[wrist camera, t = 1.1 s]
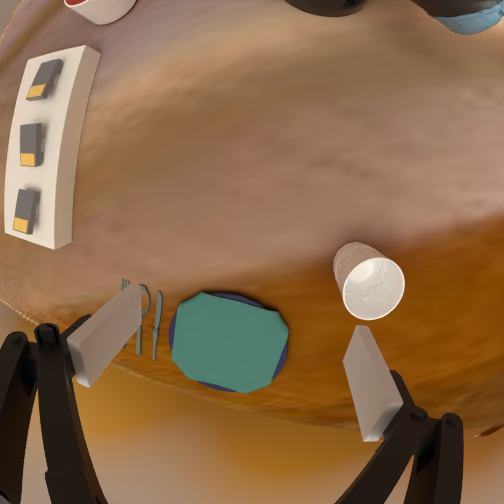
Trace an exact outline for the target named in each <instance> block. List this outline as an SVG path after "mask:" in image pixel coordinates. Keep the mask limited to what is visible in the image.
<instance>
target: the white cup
mask: <svg viewBox="0 0 504 504" xmlns="http://www.w3.org/2000/svg"><path fill="white" fill-rule="evenodd" d="M333 271H334V273H335V278H336V281H337V285H338V287H339V290H340V293H341V296H342V298H343V301H344V304H345V306H346V308H347V310H348V311H349V312H350V313H351V314H352V315H354V316H355V317H357V318H360V319H364V320H374V319H378V318H381V317H383V316H385V315H387V314H388V313H390V312H391V311H392V310H393V309H394V308H395V307H396V306H397V304H398V303H399V301H400V300H401V298H402V295H403V292H404V286H405V281H404V276H403V273H402V271H401V269H400V267H399V266H398V265H397V264H396V263H395V262H393V261H392V260H390V259H389V258H387V257H386V256H385V255H383V254H382V253H380V252H379V251H377V250H375V249H374V248H372V247H370V246H368V245H367V244H365V243H361V242H352V243H348V244H345V245H344V246H343V247H342V248H340V249H339V250H338V252H337V254H336V255H335V257H334V259H333Z"/></svg>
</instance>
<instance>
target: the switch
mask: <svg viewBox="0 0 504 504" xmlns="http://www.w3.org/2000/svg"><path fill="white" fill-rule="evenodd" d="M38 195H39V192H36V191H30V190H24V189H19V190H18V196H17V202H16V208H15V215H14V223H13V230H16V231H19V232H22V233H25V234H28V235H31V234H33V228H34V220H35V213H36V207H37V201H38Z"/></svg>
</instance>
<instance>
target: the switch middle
mask: <svg viewBox="0 0 504 504" xmlns="http://www.w3.org/2000/svg"><path fill="white" fill-rule="evenodd" d="M41 124H42V123H32V124H23V125H20V166H29V167H38V166H41Z"/></svg>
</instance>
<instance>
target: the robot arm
mask: <svg viewBox="0 0 504 504" xmlns="http://www.w3.org/2000/svg"><path fill="white" fill-rule="evenodd" d="M285 1H286V2H288V3H289V4H291V5H292V6H294V7H296V8H298V9H300V10H302V11H305V12H308V13H311V14H315V15H320V16H327V17H340V16H346V15H350V14H353V13H355V12H357V11H359V10H360V9H361V8H362V7H363V6H364V5H365V3H366V1H367V0H285ZM411 1H412V2H414V3H415V4H417V5H418V6H419V7H421V8H422V9H424V10H425V11H426V12H427V14H428V15H429V16H431V17H432V18H435V19H437V20H438V21H439V22H441V23H442V24H443V25H445V26H446V27H447V28H449V29H450V30H451V31H453V32H455V33H459V34H462V35H471V34H476V33H479V32H482V31H484V30H486V29H488V28H490V27H492V26H494V25H495V24H497V23H498V22H499V21H500V20H501V17H503V16H504V0H411ZM141 324H142V316H141V286H140V285H136V284H132V283H130V284H129V285H127V286H126V287H125V288H124V289H123V290H122V291H120V292H119V293H118V294H117V295H116V296H114V297H113V298H112V299H111V300H110V301H109V302H107V303H106V304H105V305H104V306H103V307H102V308H100V309H99V310H98V311H97V312H96V313H95V314H94V315H90V314H87V315H85V316H82V317H80V318H79V319H78V320H77V321H75V323H73V324H72V325H71V327H68V328H67V329H66V330H65V331H64V332H63V333H62V334H60V333H59V329H58V326H56V325H55V324H52V323H44V324H40V325H38V326H37V327H36V328H35V330H34V334H35V337H36V341H37V343H34V342H29V341H28V338H27V336H26V334H25V333H24V332H20V331H16V332H12V333H10V334H9V335H8V336H7V337H6V339H5V341H4V343H3V345H2V347H1V349H0V504H20V502H21V494H22V478H23V466H24V457H25V449H26V441H27V435H28V430H29V424H30V419H31V414H32V409H33V404H34V400H35V396H36V392H37V388H38V398H39V412H40V423H41V431H42V438H43V444H44V451H45V457H46V462H47V467H48V471H47V472H45V480H46V484H47V488H48V492H49V496H50V499H51V503H52V504H108V502H107V500H106V499H105V497H104V494H103V492H102V489H101V487H100V485H99V482H98V479H97V476H96V473H95V470H94V468H93V464H92V461H91V458H90V455H89V452H88V448H87V445H86V441H85V438H84V434H83V430H82V426H81V422H80V418H79V413H78V408H77V404H76V399H75V393H74V388H73V382H72V377H73V376H74V375H76V378H77V381H78V383H80V384H82V385H85V386H86V387H89V388H90V387H91V386H92V385H93V384H94V382H95V381H96V380H97V378H98V377H99V376H100V375H101V373H102V372H103V371H104V370H105V368H106V367H107V366H108V365H109V363H110V362H111V361H112V360H113V358H114V357H115V356H116V355H117V353H118V352H119V351H120V350H121V348H122V347H123V346H124V345H125V343H126V342H127V341H128V340H129V339H130V337H131V336H132V335H133V334H134V333H135V331H136V330H137V329H138V328H139V326H140V325H141ZM343 364H344V367H345V371H346V374H347V378H348V382H349V386H350V389H351V393H352V397H353V401H354V405H355V409H356V413H357V417H358V421H359V425H360V429H361V433H362V437H363V441H378V439H379V438H380V436H381V435H382V434H383V435H384V439H385V440H384V441H383V442H382V444H381V445H380V446H379V447H378V449H377V450H376V451H375V454H374V455H373V457H372V458H371V460H370V461H369V462H368V464H367V465H366V466H365V467H364V469H363V470H362V471H361V473H360V474H359V475H358V477H357V478H356V479H355V480H354V482H353V483H352V484H351V485H350V487H349V488H348V489H347V490H346V491H345V492H344V493H343V495H342V496H341V497H340V498H339V499H338V500H337V501H336V502H335V504H384V503H385V501H386V499H387V498H388V496H389V495H390V493H391V492H392V490H393V488H394V487H395V485H396V484H397V482H398V480H399V479H400V477H401V475H402V473H403V471H404V470H405V468H406V466H407V464H408V462H409V461H410V458H411V456H412V455H415V456H414V461H413V466H412V472H411V476H410V480H409V484H408V489H407V492H406V496H405V500H404V504H460V500H461V491H462V479H463V453H464V451H463V450H464V444H463V423H462V420H461V418H460V417H459V416H458V415H456V414H454V413H445V414H444V415H443V416H442V418H441V419H435V418H430V417H428V414H427V412H426V411H425V410H424V409H422V408H420V407H417V406H415V404H414V402H413V400H412V398H411V396H410V393H409V391H408V389H407V387H406V385H405V384H404V381H403V379H402V377H401V376H400V375H399V374H398V373H397V372H396V371H395V370H389V369H388V367H387V365H386V363H385V361H384V358H383V356H382V354H381V352H380V350H379V348H378V346H377V344H376V342H375V340H374V338H373V336H372V334H371V332H370V330H369V328H368V326H361V325H356V328H355V331H354V333H353V336H352V339H351V341H350V344H349V346H348V349H347V352H346V354H345V357H344V359H343Z"/></svg>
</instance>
